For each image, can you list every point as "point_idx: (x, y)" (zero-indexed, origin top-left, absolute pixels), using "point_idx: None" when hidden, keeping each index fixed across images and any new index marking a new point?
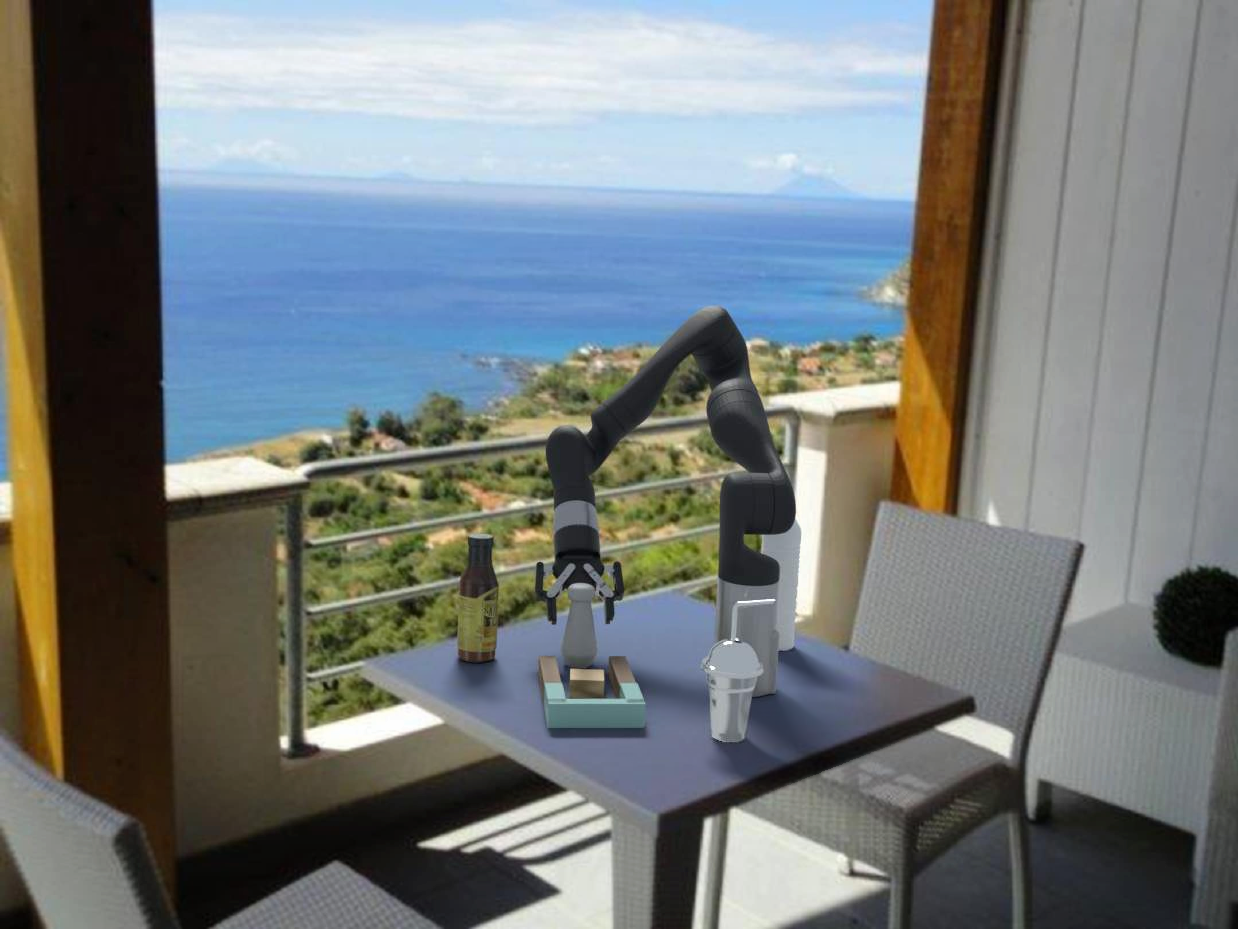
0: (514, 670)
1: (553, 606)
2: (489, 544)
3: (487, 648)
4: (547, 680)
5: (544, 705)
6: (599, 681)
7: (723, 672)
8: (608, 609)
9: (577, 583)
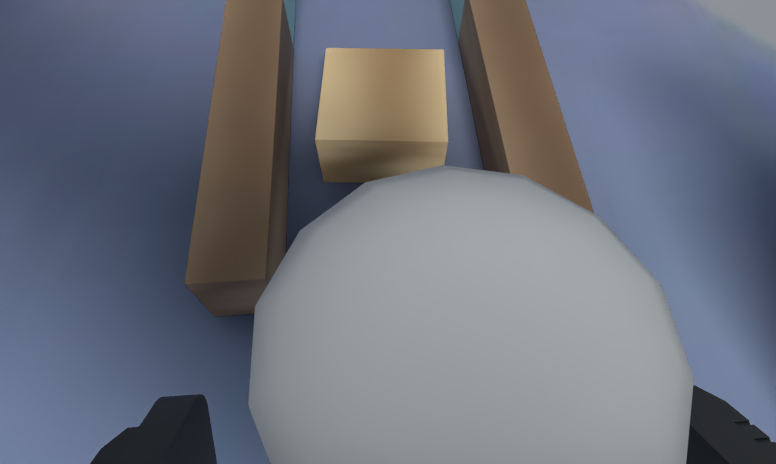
0: (688, 339)
1: (726, 430)
2: None
3: None
4: (519, 21)
5: None
6: (342, 49)
7: None
8: (143, 450)
9: (567, 412)
